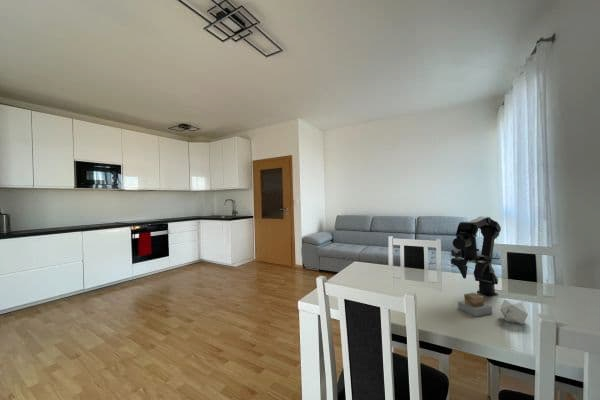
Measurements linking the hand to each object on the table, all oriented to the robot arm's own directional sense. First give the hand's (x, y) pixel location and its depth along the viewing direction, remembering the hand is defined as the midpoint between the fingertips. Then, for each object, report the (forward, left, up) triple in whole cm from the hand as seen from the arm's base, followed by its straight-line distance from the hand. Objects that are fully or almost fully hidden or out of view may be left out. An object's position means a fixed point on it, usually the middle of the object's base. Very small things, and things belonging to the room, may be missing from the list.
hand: (472, 277), depth 116 cm
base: (+9, +8, -12) cm, 17 cm away
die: (+2, +20, -12) cm, 24 cm away
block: (+8, +8, -9) cm, 15 cm away
